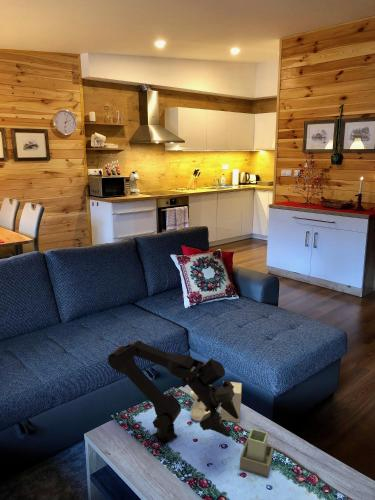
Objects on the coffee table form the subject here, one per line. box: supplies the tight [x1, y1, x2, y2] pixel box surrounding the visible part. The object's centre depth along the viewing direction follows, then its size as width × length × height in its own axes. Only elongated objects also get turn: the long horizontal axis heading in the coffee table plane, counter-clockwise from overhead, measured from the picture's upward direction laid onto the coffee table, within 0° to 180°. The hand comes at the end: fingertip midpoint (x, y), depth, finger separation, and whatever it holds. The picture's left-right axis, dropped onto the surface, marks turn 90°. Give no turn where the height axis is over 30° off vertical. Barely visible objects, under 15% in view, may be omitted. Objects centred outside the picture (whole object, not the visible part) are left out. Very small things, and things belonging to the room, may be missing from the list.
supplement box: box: [220, 380, 243, 424], centre depth 153 cm, size 7×7×13 cm
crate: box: [239, 438, 274, 479], centre depth 131 cm, size 9×9×4 cm
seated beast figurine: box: [190, 390, 210, 422], centre depth 153 cm, size 10×9×12 cm
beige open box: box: [247, 428, 268, 464], centre depth 130 cm, size 5×5×10 cm
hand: (233, 427), depth 132 cm, fingers open, 9 cm apart
